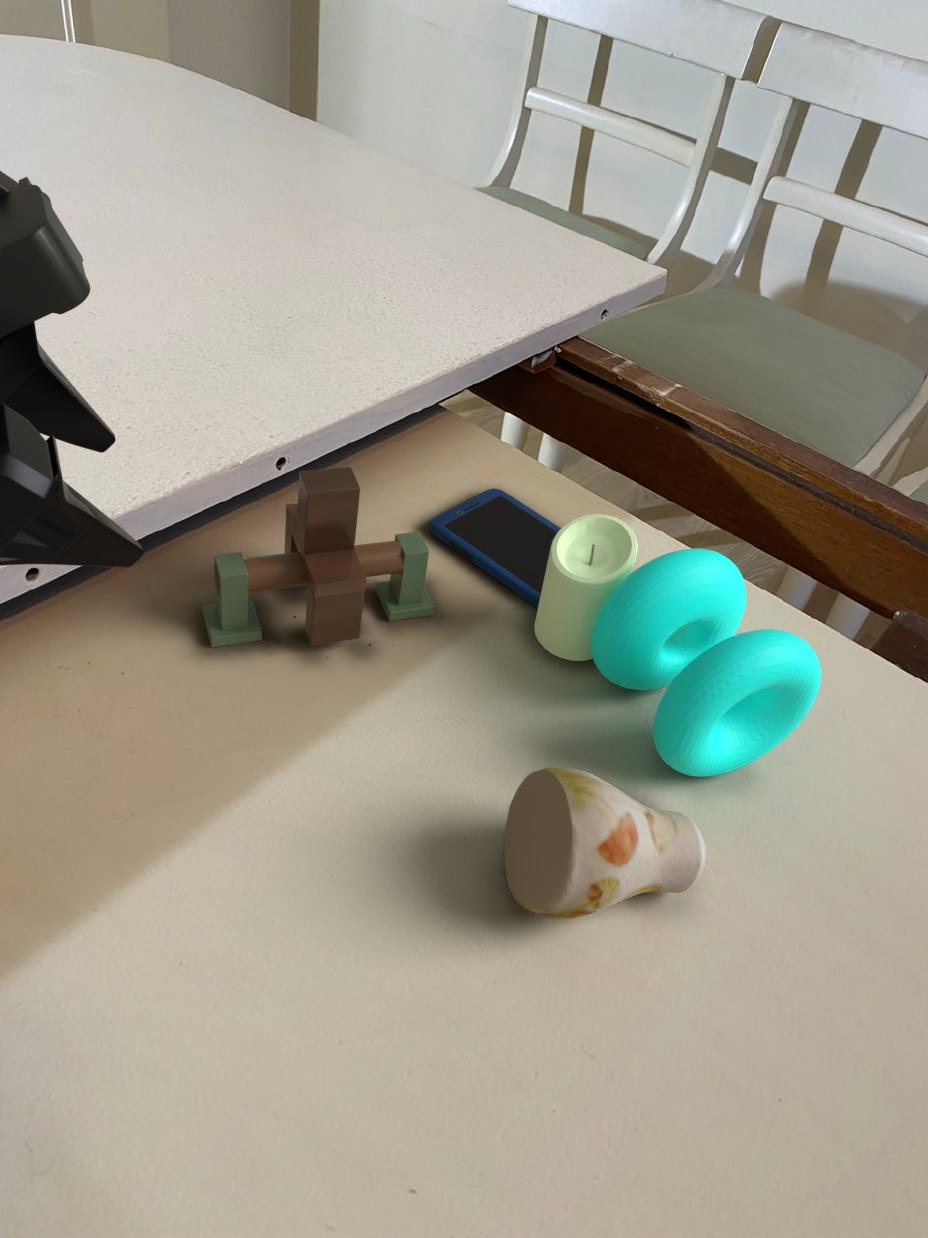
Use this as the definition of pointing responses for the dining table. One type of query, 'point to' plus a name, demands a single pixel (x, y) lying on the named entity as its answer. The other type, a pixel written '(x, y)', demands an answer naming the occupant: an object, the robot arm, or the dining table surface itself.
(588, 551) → the candle
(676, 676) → the donuts
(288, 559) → the stand
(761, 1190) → the dining table surface
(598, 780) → the flowered bud vase
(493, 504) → the cell phone
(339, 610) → the brown stepped block
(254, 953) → the dining table surface
